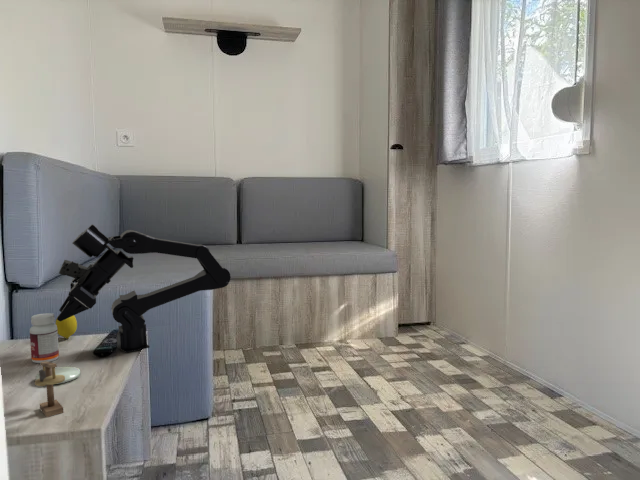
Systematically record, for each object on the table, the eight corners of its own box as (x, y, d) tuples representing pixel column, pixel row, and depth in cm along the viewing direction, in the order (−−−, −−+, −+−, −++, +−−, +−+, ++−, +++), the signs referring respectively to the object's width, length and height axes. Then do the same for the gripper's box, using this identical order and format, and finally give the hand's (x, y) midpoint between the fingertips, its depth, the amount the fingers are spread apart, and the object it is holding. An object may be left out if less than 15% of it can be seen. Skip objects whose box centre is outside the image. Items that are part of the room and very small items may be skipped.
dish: (73, 368, 124) (73, 363, 124) (85, 379, 117) (85, 374, 117) (31, 377, 118) (31, 373, 118) (41, 389, 111) (41, 384, 111)
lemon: (56, 342, 144) (54, 314, 143) (56, 337, 149) (54, 310, 148) (78, 339, 146) (76, 312, 145) (77, 334, 151) (75, 307, 150)
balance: (34, 403, 104) (30, 353, 103) (54, 398, 107) (50, 349, 105) (48, 423, 96) (45, 368, 95) (69, 417, 98) (66, 364, 97)
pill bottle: (29, 358, 131) (26, 315, 130) (56, 353, 134) (53, 311, 133) (33, 365, 126) (30, 320, 125) (61, 360, 130) (58, 316, 128)
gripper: (79, 244, 139) (35, 288, 136) (77, 253, 122) (27, 303, 119) (112, 271, 143) (70, 314, 140) (115, 283, 126) (68, 332, 123)
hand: (59, 315), depth 130 cm, fingers open, 9 cm apart
